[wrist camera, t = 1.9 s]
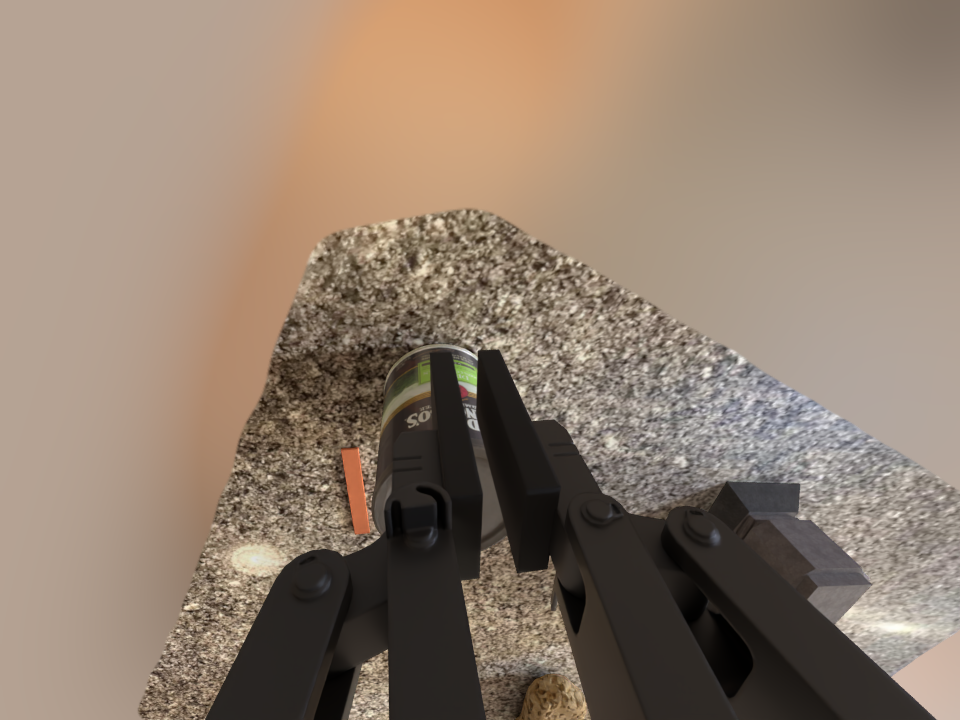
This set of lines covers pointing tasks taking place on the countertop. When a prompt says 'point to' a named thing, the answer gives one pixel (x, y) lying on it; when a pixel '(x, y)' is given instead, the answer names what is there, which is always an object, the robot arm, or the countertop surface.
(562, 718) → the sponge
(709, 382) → the countertop surface
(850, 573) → the machine
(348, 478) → the strips
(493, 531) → the coffee can
